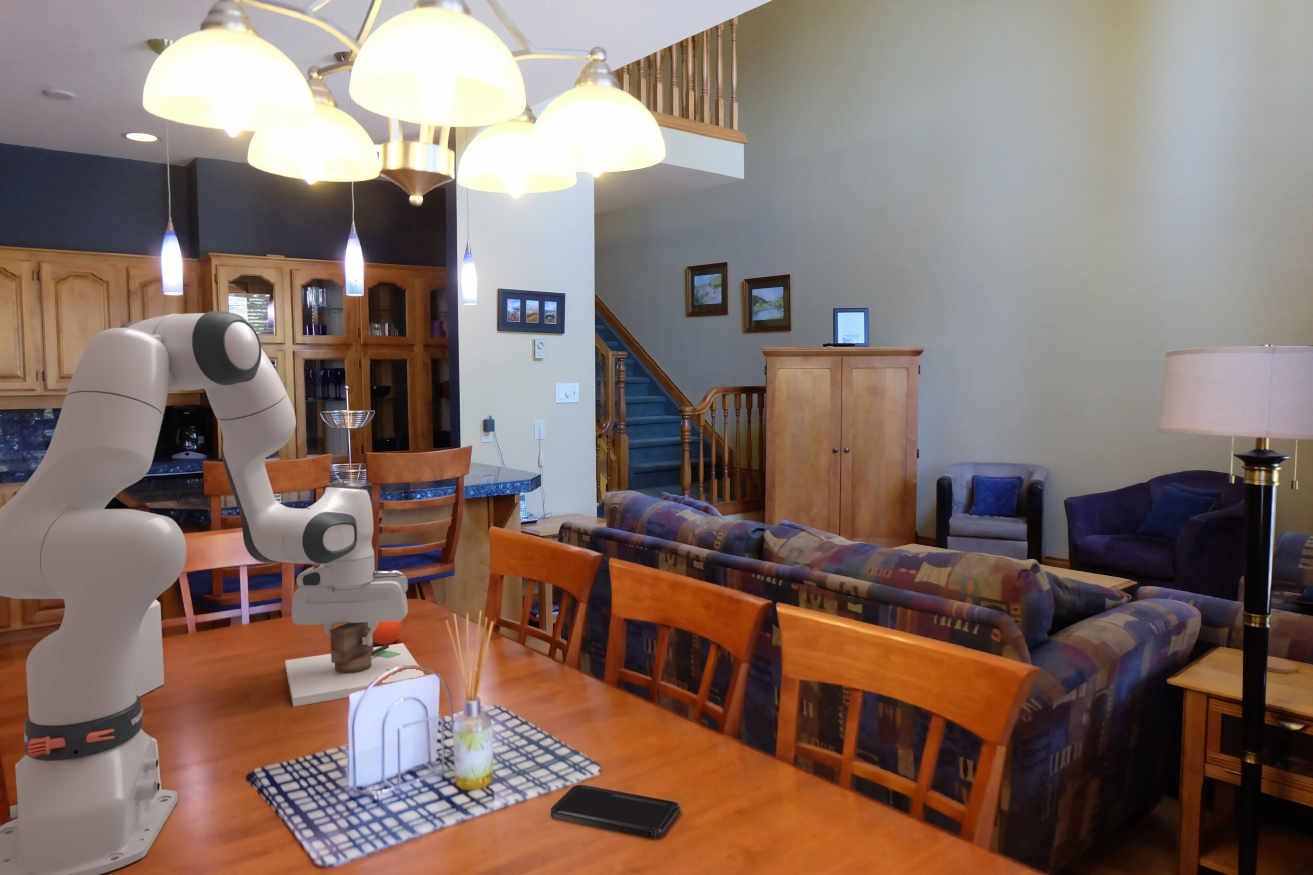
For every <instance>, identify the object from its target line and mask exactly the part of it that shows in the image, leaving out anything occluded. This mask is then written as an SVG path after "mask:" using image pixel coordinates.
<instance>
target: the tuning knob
mask: <svg viewBox="0 0 1313 875" xmlns="http://www.w3.org/2000/svg"><path fill="white" fill-rule="evenodd" d="M370 630H371V628H368V622H362V623H343V624H341V625H340V626H337V627H333V629H332V630H330V636H331V638H330V654H331V662H332V663H335V670H336V671H337V672H341V673H352V672H358V671H362V670H365V669H368V668H369V667H371V656H373V655H375V654H377V653H379V652H381V651H383V650H385V649H387V648H389V645H390V644H388V645H381V646H382V647H380V646H379V647H380V648H378V649H376V650H374V651H373V647H374V642H373V634H372V645H371V646H363V645H362V643H363V641H362V637H363V635H364V634H368V633H369V631H370Z"/></svg>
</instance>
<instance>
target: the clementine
mask: <svg viewBox="0 0 1313 875" xmlns="http://www.w3.org/2000/svg"><path fill="white" fill-rule="evenodd" d="M402 631H403V623H402V620H401V621H386V622H378V626H377V627H376V629H375V631H374V633H373V643H375V644H377V645H381V646H384V645H386V644H388V645H392V644H393V643H394V642H395V641H397V640H398V639H399V638H400V636H401V634H402Z"/></svg>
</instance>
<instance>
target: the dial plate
mask: <svg viewBox="0 0 1313 875" xmlns="http://www.w3.org/2000/svg"><path fill="white" fill-rule="evenodd" d="M388 645H389V648H387V649H385V650H383V651H381V652H379V653H377V654H375V655H373V656H371V667H369V668H368V669H365V670H362V671H358V672H352V673H341V672H337V671H336V670H335V663H332V662H331V653H327V654H320V655H311V656H307V657H300V658H299V657H297V658H293V659H285V660H284V661H285V662H284V663H285V665H284V666H285V673H286V672H287V673H286V677H287V681H288V682H287V683H288V687H289V692H290V697H291V701H292V707H299V706H305V705H309V704H310V705H311V704H316V703H323V702H327V701H328V702H329V701H334V700H340V699H346V698H349V697H348V695H349V694H350V693H353V692H356V691H361V690H364V689H365V688H367V687H368V686H369V684H370V683H371V682H373V681H374V680H375V679H376V678H377V677H379V676H380V675H382V674H383V673H384V672H386V671H388V670H390V669H392V668H395V667H398V666H403V665H417V666H419V664H418V663H417V661H416V660H415V658H414V657H413V655H412V654H411V653H410V651H409V649H408V648H407V647H406V645H405V643H403V642H402V643H396V644H388ZM382 646H383V645H381V646H375V647H374V646H373V651H374V650H376V649H378V648H380V647H382ZM423 675H425V676H426V674H425V673H424V672H423V670H422V671H420V670H416V669H406V670H402V671H400V672H397V673H396V674H394V675H391V676H389V677H388V678H387V679H385V680H383V681H382V683H390V682H395V681H401V680H405V679H409V678H416V677H419V676H423Z"/></svg>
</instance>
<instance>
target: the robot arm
mask: <svg viewBox="0 0 1313 875" xmlns="http://www.w3.org/2000/svg"><path fill="white" fill-rule="evenodd" d="M261 344H262V343H261V340H260V338H259V335H258V333H257V331H256V329H255V328H254V327H253V326H252V325H251V323H250V322H248V321H247V319H245V318H244V317H243V316H241V315H240V314H238V313H234V312H230V311H222V310H221V311H220V310H212V311H211V310H210V311H208V312H205V313H204V312H201V313H200V312H197V313H195V312H194V313H193V312H192V313H171V314H166V315H165V314H164V315H159V316H155V317H151V318H148V319H137V320H133V321H129V322H127V323H125V324H123V325H121V326H118V327H112V328H107V329H104V330H103V331H99V332H98V333H97V334H96V335H95V336H93V338H91V340H90V341H89V343H88V345H87V347H86V348H85V350H84V352H83V353H82V355H81V357H80V359H79V362H77V365H76V367H75V369H74V372H73V374H72V377H71V379H70V382H69V385H68V388H67V390H66V392H65V393H66V394H65V397H64V400H63V403H62V404H63V405H62V407H61V409H60V412H59V413H60V414H59V417H58V420H57V422H56V426H55V428H54V431H53V433H52V434H53V435H52V437H51V440H50V444H49V446H48V448H47V451H46V453H45V454H44V457H43V458H42V459H41V462H40V463H39V465H38V467H37V468H36V469H35V471H34V472H33V473H32V475H31V476H30V478H28V480H27V481H26V482H25V483H24V485H23V486H22V487H21V488H20V490H18V491H17V492H16V494H15V495H13V497H12V498H11V499H9V500H8V501H7V502H6V503H5V504H4V505H2V506H1V507H0V597H6V598H11V599H17V600H63V602H64V613H63V618H62V621H61V624H60V626H59V627H58V629H57V630H55V631H54V632H51V633H50V634H49V635H47V636H44V638H42V639H41V640H40V641H39V642H37V643H36V644H35V646H34V647H32V649H31V651H30V652H29V653H28V656H27V659H26V663H25V670H26V686H27V687H26V688H27V701H28V704H27V705H28V715H27V717H26V719H25V722H24V723H25V724H24V725H25V727H24V730H23V740H24V754H25V755H24V756H23V757H22V758H20V759H19V761H18V762H17V763H15V765H14V766H15V769H14V770H15V779H16V780H15V782H16V783H15V784H16V796H17V797H16V798H17V799H16V800H17V804H14V805H11V806H9V809H8V810H7V812H8V813H7V814H8V817H9V818H10V819H12V820H10V821H8V822H6V823H4V824H2V825H0V875H102V874H105V873H109V872H112V871H114V870H117V869H120V868H122V867H125V866H128V865H130V864H132V863H135V862H136V861H139V860H140V859H142V858H144V857H145V856H146V855H147V854H148V852H149V850H150V849H151V847H152V846H153V843H154V842H155V841H156V839H157V836H158V835H159V833H160V832H161V830H162V828H163V826H164V824H165V823H166V821H167V819H168V818H169V816H170V815H171V813H172V811H173V810H174V808H175V807H176V806H175V805H176V804H177V803H178V800H179V799H178V794H177V793H178V792H177V791H176V790H171V789H162V783H161V774H160V772H161V771H160V760H159V748H158V741H157V739H156V738H154V737H152V736H151V735H149V734H148V733H146V732H145V731H144V730H143V729H142V727H143V722H144V721H143V714H144V710H143V709H144V708H143V705H142V701H141V700H142V699H141V696H140V697H139V696H137V691H136V644H137V637H138V633H139V629H140V626H141V623H142V621H143V618H144V616H145V614H146V612H147V610H148V609H149V607H150V606H151V604H152V603H153V602H154V601H155V599H156V600H157V598H158V597H159V596H161V595H162V593H164V592H166V591H167V590H168V589H169V588H171V587H172V586H173V585H174V583H175V582H176V581H177V579H178V578H179V577H180V575H181V574H182V572H183V570H184V567H185V565H186V561H187V557H188V556H187V555H188V548H187V540H186V537H185V535H184V532H183V531H182V529H181V527H180V526H179V525H178V523H177V522H176V521H175V520H174V519H173V518H171V517H169V516H167V515H162V514H157V513H152V512H148V511H143V510H138V509H130V508H106V507H107V505H109V503H110V502H111V501H112V500H113V499H114V497H116V496H117V495H118V494H119V493H121V492H122V491H123V490H124V489H126V488H128V487H130V486H132V485H133V484H136V483H137V482H140V480H142V479H143V478H144V477H145V476H146V474H148V472H149V471H150V469H151V466H152V463H153V460H154V457H155V452H156V448H157V443H158V440H159V437H160V436H159V435H160V431H161V429H162V428H161V427H162V423H163V419H164V415H165V411H166V410H165V409H166V405H167V401H168V400H167V399H168V393H169V391H197V390H204V391H205V394H206V396H207V399H208V402H209V404H210V406H211V409H212V412H213V413H214V416H215V418H216V420H217V423H218V425H219V428H220V431H221V434H222V441H221V443H220V455H221V459H222V463H223V466H224V470H225V474H226V476H227V480H228V483H229V486H230V488H231V492H232V494H233V498H234V500H235V503H236V506H237V509H238V512H239V516H240V520H241V528H242V537H243V539H242V540H243V543H244V547H245V548H246V551H247V552H248V554H249V555H250V556H251V558H253V559H254V560H256V561H258V562H260V563H265V564H270V563H271V564H272V563H276V564H277V563H278V564H280V563H288V564H298V565H305V564H306V565H314V566H312V567H308V568H306V569H305V570H304V571H301V572H300V573H299V574H298V575H297V577H296V585H297V586H298V588H296V589H295V591H294V593H293V596H292V601H291V621H292V622H293V623H294V624H295V625H296V626H306V625H307V626H310V625H312V626H314V625H323V631H324V632H325V633H326V634H325V635H327V636H328V638H329V639H331V636H330V630H332V629H334V628H335V626H336V625H335V624H346V623H362V622H368V628H371V630H370V631H369V633H368V634H364V635H363V637H362V641H363V643H362V645H363V646H371V645H372V634H373V633H374V631H375V629H376V627H377V626H378V622H386V621H401V622H402V621H403V620H404V618H406V616H407V614H408V613H409V611H408V610H409V606H408V599H407V594H406V593H407V591H408V589H409V582H408V580H409V579H408V577H407V575H406V574H405V573H403V572H401V571H400V570H375V569H376V568H375V551H374V548H373V544H372V543H373V542H372V541H373V535H374V514H373V512H374V511H373V505H372V500H371V497H370V494H369V492H368V490H367V489H365V488H364V487H360V486H353V485H351V486H349V485H330V486H327V487H325V490H324V493H323V495H322V496H321V497H320V498H319V499H318V500H317V501H316V502H314V503H313V504H312V505H309V506H307V508H298V507H297V508H296V507H288V506H286V505H284V504H281V503H280V502H279V501H278V500H277V499H276V497H275V495H274V492H273V488H272V485H271V482H270V478H269V475H268V472H267V468H266V464H265V463H266V462H265V461H266V459H267V458H268V457H270V456H272V455H273V454H274V453H276V452H278V451H279V450H281V449H282V448H283V447H285V445H287V443H288V442H289V441H290V440H291V438H292V436H293V435H294V432H295V430H296V426H297V421H296V420H297V419H296V414H295V409H294V406H293V404H292V402H291V399H290V397H289V395H288V393H287V391H286V388H285V386H284V384H283V381H282V380H281V377H280V375H279V374H278V372H277V370H276V369H275V367H274V365H273V364H272V362H271V360H270V358H269V356H267V354H266V352H265V351H264V350H263V348H262V345H261ZM14 818H16V819H14Z"/></svg>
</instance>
